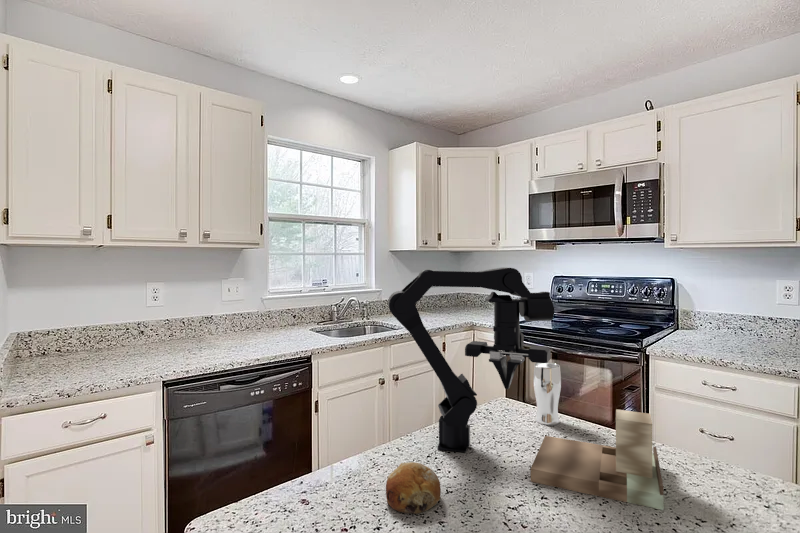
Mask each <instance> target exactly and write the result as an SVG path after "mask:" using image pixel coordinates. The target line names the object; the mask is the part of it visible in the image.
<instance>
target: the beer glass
mask: <svg viewBox="0 0 800 533" xmlns="http://www.w3.org/2000/svg"><path fill="white" fill-rule="evenodd" d="M533 366H534V368H533V389H534V391H533V392H534V396H535V400H536V412H535V417H534V418H535V419H534V420H535V422H537V423H538V424H541V425H544V426H545V425H546V426H556V425H559V423H560V416H559V409H558V408H559V401H560V394H561V388H562V375H561V374H562V373H561V365H560V364H558V363H555V362H548V363H535V362H534V364H533Z"/></svg>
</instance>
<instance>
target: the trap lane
mask: <svg viewBox="0 0 800 533" xmlns="http://www.w3.org/2000/svg"><path fill="white" fill-rule="evenodd" d="M660 466H661V465H660V461H659V454H658V449H657V446H653V445H652V478H648V477H643V476H638V475H632V474H627V473H622V472H617V471H616V446H609V445H603V444H597V443H592V442H591V443H590V442H585V441H580V440H575V439H567V438H562V437H557V436H550V435H545V436H544V438H543V440H542V443H541V444H540V447H539V449H538V451H537V453H536V454H535V458H534V461H533V462H532V464H531V467H530V482H531V483H536V484H539V485H544V486H545V485H546V486H549V487H554V488H559V489H564V490H569V491H573V492H577V493H578V492H579V493H582V494H586V495H591V496H596V497H599V498H600V497H601V498H605V499H610V500H615V501H619V502H624V503H628V504H633V505H638V506H643V507H647V508H651V509H657V510H661V511H664V510H665V509H664V497H665V496H664V493H665V492H664V482H663V477H662V472H661V467H660Z"/></svg>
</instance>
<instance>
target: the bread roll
mask: <svg viewBox="0 0 800 533" xmlns="http://www.w3.org/2000/svg"><path fill="white" fill-rule="evenodd" d="M441 494H442V493H441V482H440V480H439V477H438V475H437V473H436V472H435V471H434V470H433V469H432V468H430V467H428V466H426V465H424V464H423V463H421V462H412V461H411V462H401V463H400V464H399V466H397V467H396V468H395V469H394V470H393V471H392V472H391V473H390V474H389V475H388V476H387V478H386V483H385V496H386V502H387V504H388V505H389V506H390V507H391V508H392V510H395V511H396V512H400V513H405V514H414V515H415V514H417V515H418V514H420V513H421V514H422V513H424V512H426V511H429V510H431V509H432V508H433V507H434V506H436V504H438V502H439V501H440V500H441Z"/></svg>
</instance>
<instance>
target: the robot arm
mask: <svg viewBox="0 0 800 533" xmlns="http://www.w3.org/2000/svg"><path fill="white" fill-rule="evenodd" d="M432 287H433V288H434V287H440V288H441V287H444V288H445V287H447V288H449V287H450V288H483V289H487V290H493V291H491V292H490V294H489V295H488V296H487V297H485V299H484V300H485V302H487V303H491V304H492V303H493V314H494V315H493V317H494V318H493V320H494V323H493V325H494V326H493V328H492V329H493V330H492V331H493V341H494V342H493V344H492V345H489V344H488V342H487V341H481V340H480V341H479V340H472V341H470V342H468V343H466V345H465V347H464V356H465V357H473V358H477V357H478V358H479V356H481V354H486V355H489V359H488V363H492V364H493V366H494V367H495V369H496V371H497V373H498V376H499V378H500V380H501V383H502V385H503V387H504V390H509V389H510V387H511V384H512V381H513V378H514V375H515V372H516V369H517V368H518V366H519V365H522V363H524V362H525V359H526V358H528V360H529V361H530V362H531V363H534V364H535V363H549V361H550V360H551V356H552V355H551V353H552V351H551V349H550V347H549V346H544V345H543V346H542V345H531V346H530V347H529V348H524V343H525V342H524V340H525V335H524V334H523V333H522V331H521V325H520V317H521V318H524V320H525V321H526V322H550V321H553V319H554V317H555V306H554V303H553V299H552V298H551V293H550V292H549V291H540V292H531V291H530V290H529V289H528V288H527V286H526V285H525V283H524V282H523V276H522V273H521V272H520V271H519V270H518V269H517V268H515V267H514V268H513V267H497V268H491V269H486V270H481V271H480V270H479V271H462V270H461V271H460V270H459V271H458V270H456V271H455V270H431V269H423V270H421V271H420V272H419V274H418V275H417V276H416V277H415V278H413V279H412V281H410V282H409V283H408V284H407V285H405V286H404V287H403V289H401V290H397V291H394V292H393V293H391V294H390V296H389V297H388V301H387V306H388V309H389V311H390V313H391V314H392V315H393V317H394V318H395V319H396V320H397V322H399V324H401V325H402V326H403V327H404V328H405V329H406V330H407V332H408V333H409V334H410V335H411V337H412V338H413V340H414V341H415V343H416V344H417V346H418V348H419V350H420V351H421V352H422V354H423V356H424V357H425V359H426V361H427V362H428V363H429V365H430V367H431V369H432V370H433V371H434V373H435V374H436V376H437V378H438V379H439V382H440V384H441V386H442V390H443V391H444V394H445V397H444V398H443V399H442V401H441V402H439V403H438V405H437V406H438V407H437V408H438V409H439V412H440V414H441V415H440V417H439V419H438V444H437V450H440V451H441V450H442V451H449V452H460V453H466V452H467V449H468V448H469V447H470V445H471V425H470V424H468V423H469V421H470V417H471V415H473V414H474V413H475V412H476V410H477V407H478V400H477V398H476V396H477V395H478V394H477V393H476V392H475V390H474V389H473V388H472V386H471V385H470V383H469V380H468V379H467V378H466V376H465V375H464V374H463V373H460V374H459V376H458V375H456V374H455V372H454V371H453V369H452V368H451V366H450V365H449V363H448V362H447V359H445V357H444V355H443V354H442V352H441V350H440V349H439V347H438V346H437V344H436V343H435V341H434V339H433V337H432V336H431V334H429V332H428V330H427V329H426V327H425V325H424V323H423V321H422V318H421V315H420V313H419V310H418V308H417V305H416V304H417V303H418V302H419V301H420V300H421V299H422V298H423V297H424V296H425V295H426V293H427V292H428V291H429V290H430V289H431V288H432ZM495 291H497V292H504V293H506V294H498V293H497V292H495ZM511 295H512V296H516V297H520V298H512V296H511ZM507 356H509V358H510V359H509V360H507V359H508V357H507Z"/></svg>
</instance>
